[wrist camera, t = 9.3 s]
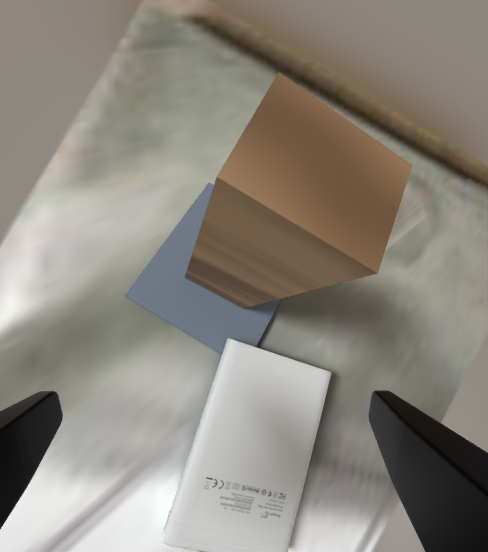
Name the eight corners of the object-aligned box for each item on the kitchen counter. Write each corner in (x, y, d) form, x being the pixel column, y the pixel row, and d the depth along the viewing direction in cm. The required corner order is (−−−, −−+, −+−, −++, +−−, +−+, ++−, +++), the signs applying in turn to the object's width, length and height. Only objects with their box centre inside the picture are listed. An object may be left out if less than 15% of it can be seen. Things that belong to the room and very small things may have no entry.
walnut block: (242, 308, 21) (377, 273, 7) (184, 277, 20) (217, 176, 7) (263, 264, 22) (412, 165, 8) (208, 233, 21) (278, 72, 8)
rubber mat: (242, 367, 20) (244, 368, 20) (125, 296, 19) (124, 295, 18) (304, 252, 24) (307, 250, 23) (208, 185, 22) (209, 182, 22)
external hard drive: (322, 368, 21) (277, 546, 19) (226, 336, 20) (163, 526, 17) (333, 372, 20) (287, 567, 17) (231, 338, 18) (162, 547, 16)
